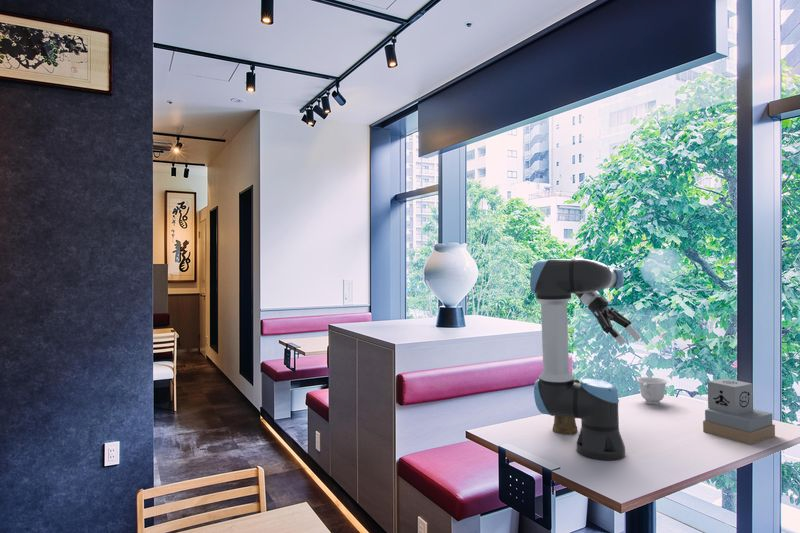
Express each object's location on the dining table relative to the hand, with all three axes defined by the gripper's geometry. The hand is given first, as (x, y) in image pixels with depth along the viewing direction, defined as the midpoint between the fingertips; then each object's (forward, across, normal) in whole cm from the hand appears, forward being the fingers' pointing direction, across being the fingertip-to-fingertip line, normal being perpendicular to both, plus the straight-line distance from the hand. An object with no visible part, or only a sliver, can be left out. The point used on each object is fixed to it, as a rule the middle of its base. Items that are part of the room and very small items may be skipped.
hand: (631, 341), depth 199 cm
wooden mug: (+13, +26, -32) cm, 43 cm away
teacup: (+19, -30, -26) cm, 44 cm away
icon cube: (+38, -12, +4) cm, 40 cm away
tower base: (+46, -11, +1) cm, 47 cm away
